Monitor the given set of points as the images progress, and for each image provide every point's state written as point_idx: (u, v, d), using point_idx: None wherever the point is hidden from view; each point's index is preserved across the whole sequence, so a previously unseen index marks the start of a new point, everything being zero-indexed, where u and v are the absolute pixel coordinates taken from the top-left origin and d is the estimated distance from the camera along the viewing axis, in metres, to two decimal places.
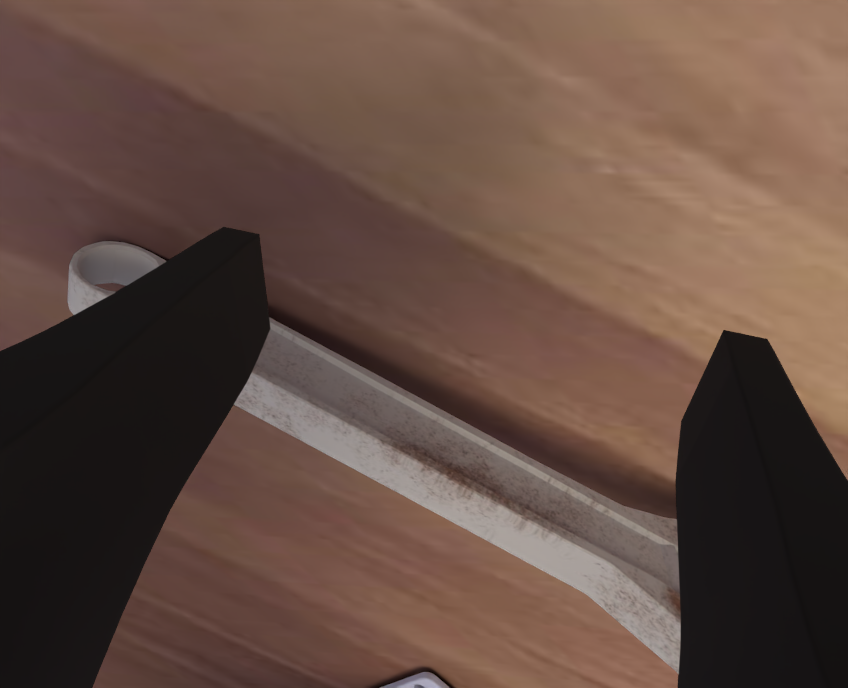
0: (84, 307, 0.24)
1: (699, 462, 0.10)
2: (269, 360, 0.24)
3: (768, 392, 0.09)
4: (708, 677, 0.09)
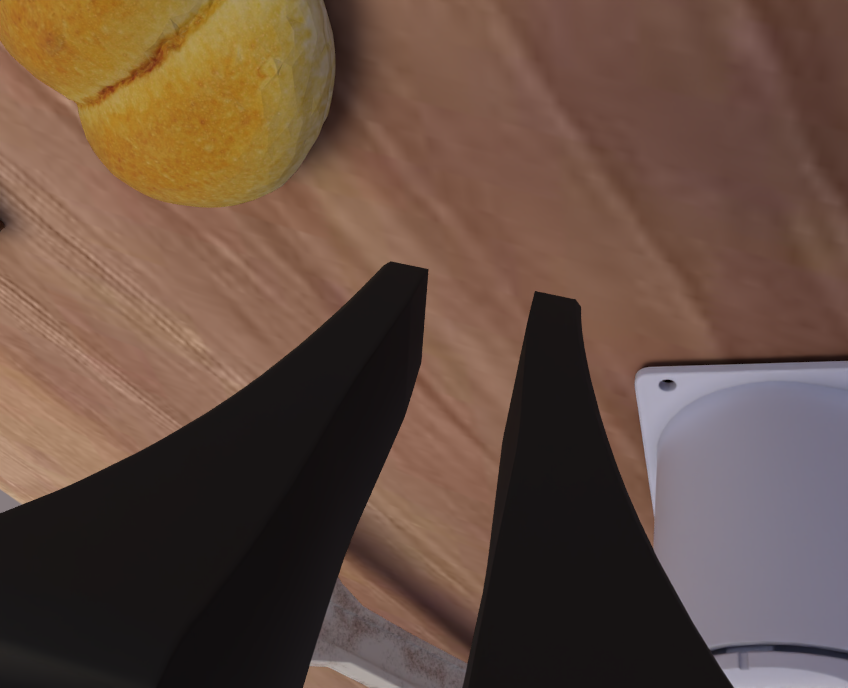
0: None
1: (509, 418, 0.11)
2: None
3: (552, 345, 0.10)
4: (478, 615, 0.09)
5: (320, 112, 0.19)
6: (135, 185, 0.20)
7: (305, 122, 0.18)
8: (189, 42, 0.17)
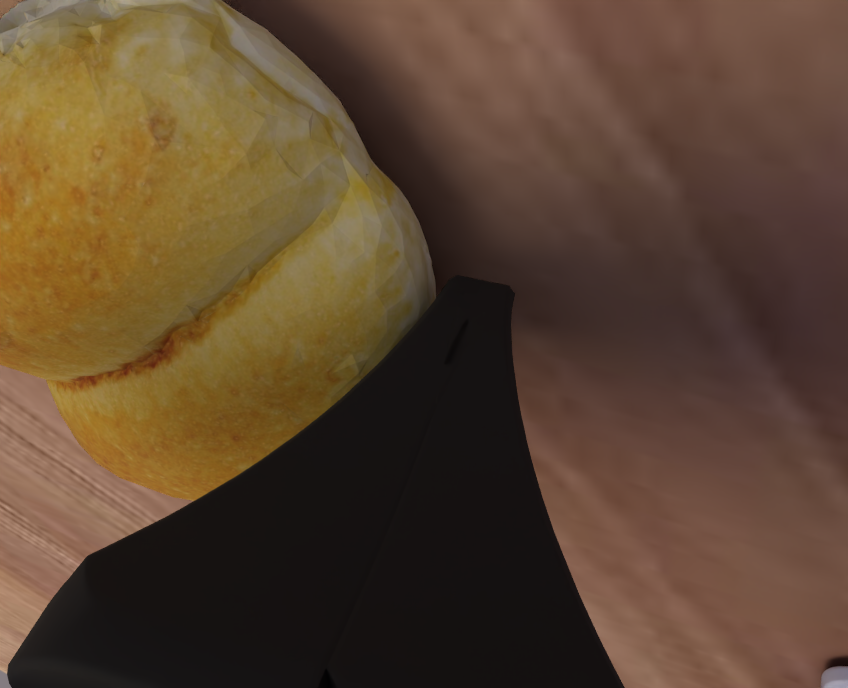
0: None
1: None
2: None
3: (477, 329, 0.10)
4: None
5: None
6: (130, 481, 0.13)
7: None
8: (218, 333, 0.10)
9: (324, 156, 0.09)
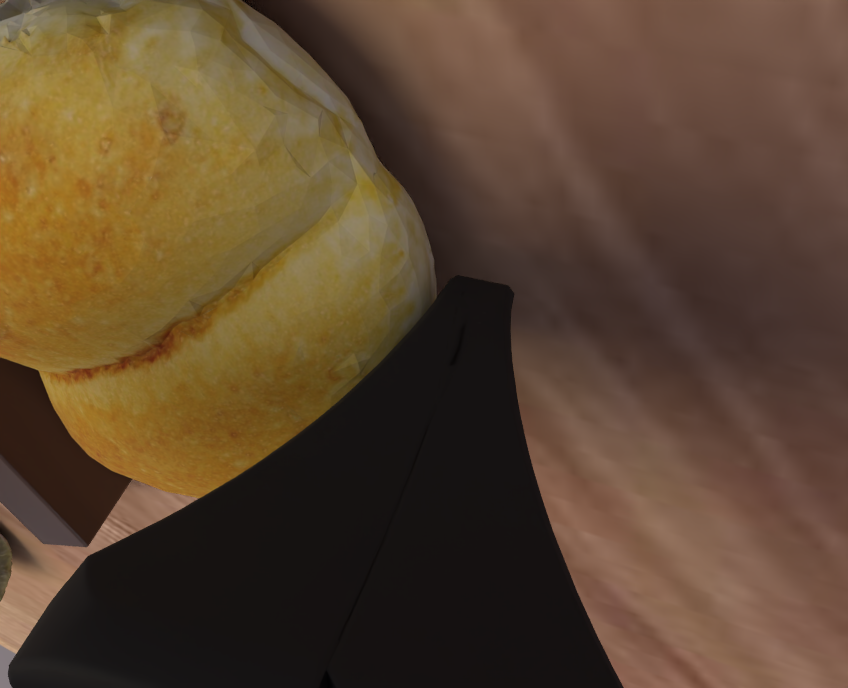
0: None
1: None
2: None
3: (477, 329, 0.10)
4: None
5: None
6: None
7: None
8: (219, 329, 0.10)
9: (333, 154, 0.09)
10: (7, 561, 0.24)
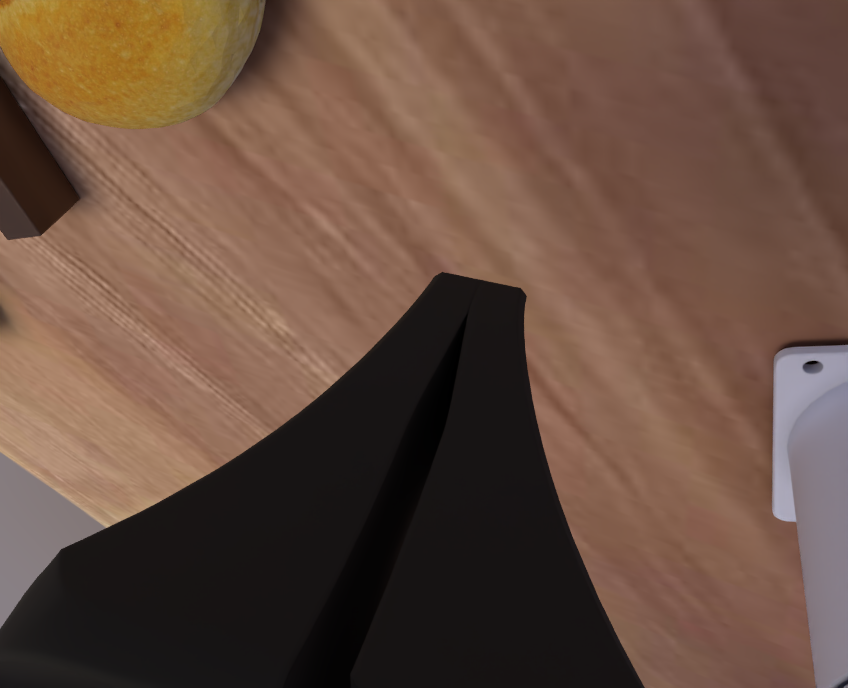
0: None
1: None
2: None
3: (491, 332, 0.10)
4: None
5: (249, 24, 0.18)
6: (52, 99, 0.18)
7: (231, 32, 0.17)
8: None
9: None
10: None
